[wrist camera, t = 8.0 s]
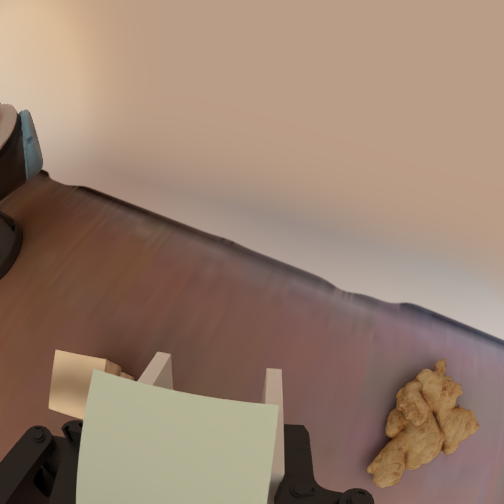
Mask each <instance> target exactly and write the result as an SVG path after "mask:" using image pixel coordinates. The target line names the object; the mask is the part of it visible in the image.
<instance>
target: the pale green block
mask: <svg viewBox="0 0 504 504" xmlns="http://www.w3.org/2000/svg"><path fill="white" fill-rule="evenodd" d="M278 411H279V405H271V404H260V403H250V402H241V401H233V400H226V399H219V398H212V397H206V396H200V395H195V394H189V393H184V392H179V391H174V390H170V389H165V388H161V387H157V386H153V385H148V384H145V383H141V382H137V381H133V380H130V379H126V378H123V377H119V376H116V375H112V374H109V373H106V372H103V371H100V370H97V369H93V374H92V378H91V383H90V388H89V393H88V398H87V403H86V409H85V415H84V421H83V427H82V434H81V442H80V450H79V460H78V472H77V487H76V504H267V498H268V491H269V484H270V477H271V470H272V462H273V454H274V446H275V438H276V429H277V420H278Z"/></svg>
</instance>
